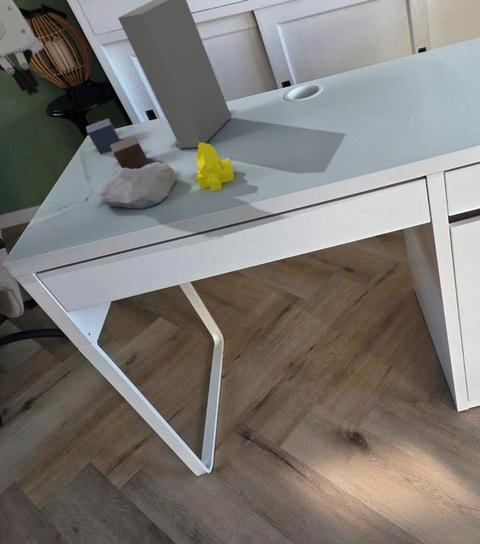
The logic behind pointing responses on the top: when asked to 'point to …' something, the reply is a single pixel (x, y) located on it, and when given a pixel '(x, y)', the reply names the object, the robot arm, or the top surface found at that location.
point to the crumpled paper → (212, 168)
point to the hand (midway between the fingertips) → (34, 92)
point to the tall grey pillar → (177, 69)
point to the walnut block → (129, 153)
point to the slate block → (103, 135)
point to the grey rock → (138, 186)
